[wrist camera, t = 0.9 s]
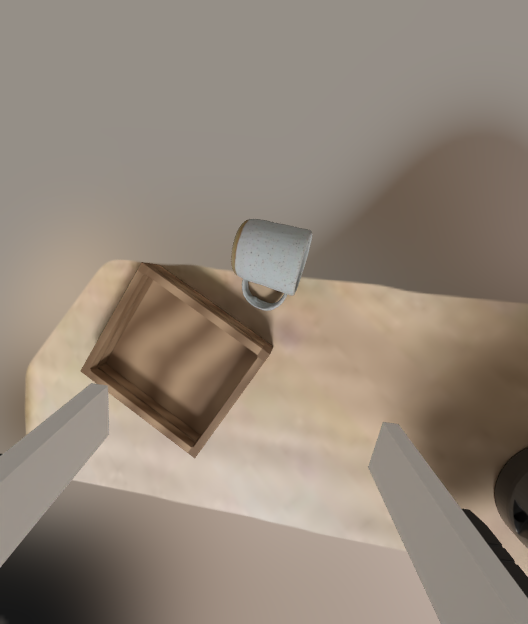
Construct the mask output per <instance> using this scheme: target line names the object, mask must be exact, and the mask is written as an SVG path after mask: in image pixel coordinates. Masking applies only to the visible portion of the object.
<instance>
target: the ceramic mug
mask: <svg viewBox="0 0 528 624" xmlns="http://www.w3.org/2000/svg"><path fill="white" fill-rule="evenodd" d="M311 239H312V231H311V230H307V229H302V228H297V227H293V226H288V225H284V224H278V223H274V222H270V221H265V220H259V219H249V220H246V221H245V222H244V223H243V224H242V225H241V226H240V228H239V229H238V231H237V233H236V236H235V239H234V243H233V248H232V255H231V265H232V269H233V271H234V273H235V274H236V275H238V276H239V277H241V278H243V281H242V291H243V295H244V297H245V298H246V300H247V301H248V302H249V303H250V304H251V305H253V306H254V307H256V308H258V309H261V310H273V309H275V308H277V307H278V306H280V305H281V304H282V303H283V301H284V300H285V298H286V296H287V294H288V295H294V294H295V292H296V290H297V287H298V284H299V281H300V279H301V275H302V272H303V269H304V266H305V262H306V259H307V256H308V252H309V248H310V244H311ZM248 281H250V282H253V283H257V284H260V285H263V286H266V287H269V288H271V289H274V290H277V291H280V292H283V293H284V295H283V296H282V298H281V299H280V300H279V301H277V302H276V303H267V302H265V301H262V300H260V299H258V298H257V297H253V296H252V294H251V293H250V291H249V288H248Z"/></svg>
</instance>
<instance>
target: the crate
mask: <svg viewBox="0 0 528 624" xmlns="http://www.w3.org/2000/svg"><path fill="white" fill-rule="evenodd" d="M272 349H273V346H272V345H271V344H269V343H268V342H267V341H265V340H264V339H262V338H261V337H260V336H258V335H257V334H255V333H254V332H253V331H251V330H250V329H248V328H247V327H246V326H244V325H243V324H241V323H240V322H239V321H237V320H236V319H234V318H233V317H232V316H230V315H229V314H227V313H226V312H225V311H223V310H222V309H220V308H219V307H218V306H216V305H215V304H213V303H212V302H211V301H209V300H208V299H206V298H205V297H204V296H202V295H201V294H199V293H198V292H197V291H195V290H194V289H192V288H191V287H190V286H188V285H187V284H185V283H184V282H183V281H181V280H180V279H178V278H177V277H176V276H174V275H173V274H171V273H170V272H169V271H167V270H166V269H164V268H163V267H162V266H160V265H157V264H150V263H143V262H142V263H141V265H140V266H139V268H138V270H137V272H136V273H135V275H134V277H133V279H132V281H131V282H130V284H129V286H128V288H127V289H126V291H125V293H124V295H123V296H122V298H121V300H120V302H119V304H118V305H117V307H116V309H115V311H114V312H113V314H112V316H111V318H110V320H109V321H108V323H107V325H106V327H105V328H104V330H103V332H102V334H101V335H100V337H99V339H98V341H97V343H96V344H95V346H94V348H93V350H92V351H91V353H90V355H89V357H88V359H87V360H86V362H85V364H84V366H83V367H82V369H81V372H82V373H84V374H85V375H86V376H88V377H89V378H90V379H91V380H93V381H94V382H95V383H97V384H100V385H108V393H110V394H111V395H112V396H114V397H115V398H116V399H118V400H119V401H120V402H122V403H123V404H124V405H126V406H127V407H128V408H129V409H131V410H132V411H133V412H135V413H136V414H137V415H139V416H140V417H141V418H143V419H144V420H145V421H147V422H148V423H149V424H150V425H152V426H153V427H154V428H156V429H157V430H158V431H160V432H161V433H162V434H164V435H165V436H166V437H167V438H169V439H170V440H171V441H173V442H174V443H175V444H177V445H178V446H179V447H181V448H182V449H183V450H185V451H186V452H187V453H188V454H190V455H191V456H192V457H194V458H195V457H196V456H197V455H198V453H199V452H200V450H201V449H202V448H203V446H204V445H205V444H206V442H207V441H208V439H209V438H210V437H211V435H212V434H213V432H214V431H215V430H216V428H217V427H218V426H219V424H220V423H221V421H222V420H223V419H224V417H225V416H226V414H227V413H228V412H229V410H230V409H231V408H232V406H233V405H234V403H235V402H236V401H237V399H238V398H239V396H240V395H241V394H242V392H243V391H244V390H245V388H246V387H247V385H248V384H249V383H250V381H251V380H252V379H253V377H254V376H255V374H256V373H257V372H258V370H259V369H260V367H261V366H262V365H263V363H264V362H265V361H266V359H267V358H268V356H269V355H270V353H271V351H272Z"/></svg>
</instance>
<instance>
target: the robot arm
mask: <svg viewBox="0 0 528 624" xmlns="http://www.w3.org/2000/svg"><path fill="white" fill-rule="evenodd" d="M108 435H109V412H108V385H100V384H93V383H91V384H90V385H89V386H87V387H86V388H85V389H84V390H82V391H81V392H80V393H79V394H77V395H76V396H75V397H74V398H72V399H71V400H70V401H69V402H67V403H66V404H65V405H64V406H62V407H61V408H60V409H59V410H57V411H56V412H55V413H54V414H52V415H51V416H50V417H49V418H47V419H46V420H45V421H44V422H42V423H41V424H40V425H39V426H37V427H36V428H35V429H34V430H32V431H31V432H30V433H29V434H27V435H26V436H25V437H24V438H22V439H21V440H20V441H19V442H18V443H16V444H15V445H14V446H12V447H11V448H10V449H9V450H7V451H6V452H5V453H4V454H0V567H1V565H2V564H3V563H4V562H5V561H6V559H7V558H8V557H9V556H10V554H11V553H12V552H13V551H14V549H15V548H16V547H17V546H18V545H19V543H20V542H21V541H22V540H23V539H24V537H25V536H26V535H27V534H28V532H29V531H30V530H31V529H32V528H33V526H34V525H35V524H36V523H37V522H38V520H39V519H40V518H41V517H42V515H43V514H44V513H45V512H46V511H47V509H48V508H49V507H50V505H51V504H52V503H53V502H54V501H55V500H56V498H57V497H58V496H59V495H60V494H61V492H62V491H63V490H64V489H65V487H66V486H67V485H68V484H69V483H70V481H71V480H72V479H73V478H74V476H75V475H76V474H77V473H78V472H79V470H80V469H81V468H82V467H83V465H84V464H85V463H86V462H87V461H88V459H89V458H90V457H91V456H92V455H93V453H94V452H95V451H96V450H97V448H98V447H99V446H100V445H101V444H102V442H103V441H104V440H105V439H106V437H107V436H108ZM368 468H369V470H370V472H371V474H372V477H373V479H374V481H375V483H376V485H377V487H378V489H379V492H380V494H381V496H382V498H383V500H384V502H385V505H386V507H387V509H388V511H389V513H390V515H391V517H392V520H393V522H394V524H395V526H396V528H397V530H398V533H399V535H400V537H401V539H402V541H403V543H404V545H405V548H406V550H407V552H408V554H409V556H410V558H411V560H412V563H413V565H414V567H415V569H416V571H417V574H418V576H419V578H420V580H421V582H422V584H423V586H424V589H425V591H426V593H427V595H428V597H429V599H430V602H431V603H432V606H433V608H434V610H435V612H436V614H437V617H438V619H439V621H440V623H441V624H528V577H527V576H526V575H525V573H524V572H523V571H522V569H521V568H520V567H519V566H518V565H516V564H515V562H514V559H513V558H512V557H511V556H510V554H509V553H508V552H507V550H506V549H505V548H503V547H502V544H501V543H500V542H499V540H498V539H497V538H496V537H495V535H494V534H493V533H492V531H491V530H490V529H489V528H488V526H487V525H486V524H484V523H483V522H482V521H481V520H480V519H479V518H478V517H477V516H476V515H475V514H474V513H472V512H471V511H470V510H468V509H461V508H460V506H459V505H458V504H457V502H456V501H455V500H454V498H453V497H452V496H451V494H450V493H449V492H448V490H447V489H446V488H445V486H444V485H443V484H442V482H441V481H440V480H439V478H438V477H437V475H436V474H435V473H434V471H433V470H432V469H431V467H430V466H429V465H428V463H427V462H426V461H425V459H424V458H423V457H422V455H421V454H420V453H419V451H418V450H417V449H416V447H415V446H414V445H413V443H412V442H411V440H410V439H409V438H408V436H407V435H406V434H405V432H404V431H403V430H402V428H401V427H400V426H399V424H394V423H386V422H383V424H382V427H381V430H380V433H379V436H378V439H377V442H376V445H375V448H374V451H373V454H372V457H371V460H370V463H369V466H368ZM495 501H496V506H497V509H498V512H499V514H500V516H501V518H502V519H503V521H504V522H505V524H506V525H507V526H508V527H509V528H510V530H511V531H512V532H513V533H514V534H515V535H516V537H517V538H518V539H519V540H520V541H521V542H522V543H523V544H524V545H525V546H526V547H527V548H528V448H526V449H524V450H522V451H521V452H519V453H518V454H516V455H515V456H514V457H513V458H512V459H511V460H510V461H509V462H508V463H507V464H506V465H505V466H504V468H503V469H502V471H501V473H500V475H499V477H498V479H497V483H496V487H495Z"/></svg>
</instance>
